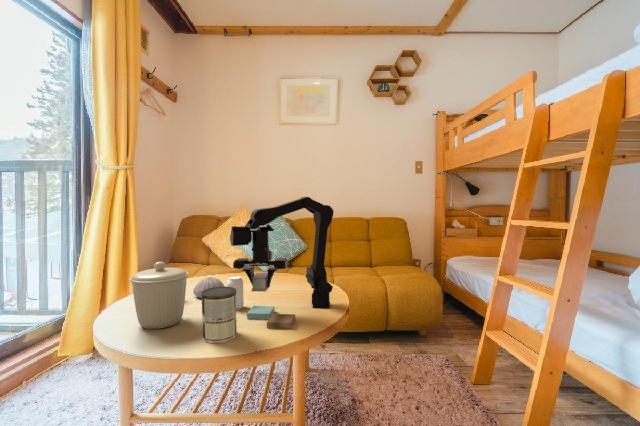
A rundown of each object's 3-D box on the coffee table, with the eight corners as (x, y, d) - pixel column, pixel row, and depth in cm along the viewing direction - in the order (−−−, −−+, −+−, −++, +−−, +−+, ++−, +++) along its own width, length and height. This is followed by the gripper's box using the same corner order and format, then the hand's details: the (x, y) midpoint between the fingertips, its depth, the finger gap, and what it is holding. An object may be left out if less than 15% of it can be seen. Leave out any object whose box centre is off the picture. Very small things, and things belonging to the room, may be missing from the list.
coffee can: (195, 337, 100) (194, 291, 100) (224, 327, 108) (223, 284, 108) (214, 346, 94) (213, 297, 93) (244, 335, 102) (243, 290, 101)
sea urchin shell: (199, 302, 135) (199, 283, 135) (189, 295, 145) (188, 277, 145) (230, 296, 143) (230, 278, 143) (218, 289, 154) (218, 272, 154)
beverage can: (224, 308, 127) (223, 277, 127) (238, 304, 132) (237, 274, 131) (232, 312, 123) (231, 280, 122) (246, 308, 127) (246, 277, 127)
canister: (122, 324, 111) (120, 262, 110) (175, 310, 125) (174, 255, 124) (143, 339, 99) (141, 269, 98) (199, 322, 113) (198, 261, 112)
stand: (274, 311, 123) (274, 306, 123) (269, 319, 115) (269, 313, 115) (253, 311, 124) (253, 305, 123) (247, 318, 116) (247, 313, 116)
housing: (265, 291, 115) (265, 277, 115) (251, 291, 116) (251, 277, 115) (270, 286, 122) (270, 272, 122) (257, 286, 123) (256, 272, 122)
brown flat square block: (295, 319, 114) (295, 314, 114) (291, 328, 106) (291, 322, 106) (272, 319, 115) (272, 313, 115) (267, 328, 107) (266, 322, 107)
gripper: (289, 241, 126) (290, 281, 126) (242, 241, 127) (242, 281, 128) (284, 245, 114) (285, 289, 115) (232, 245, 116) (233, 289, 117)
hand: (261, 287), depth 119 cm, fingers closed on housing, 5 cm apart
